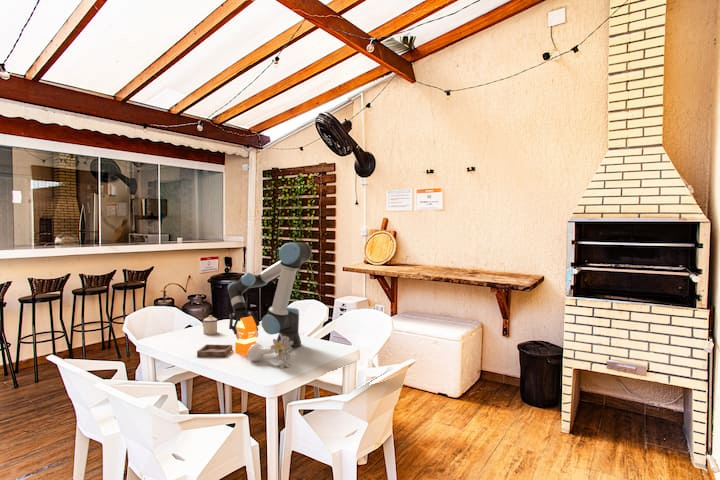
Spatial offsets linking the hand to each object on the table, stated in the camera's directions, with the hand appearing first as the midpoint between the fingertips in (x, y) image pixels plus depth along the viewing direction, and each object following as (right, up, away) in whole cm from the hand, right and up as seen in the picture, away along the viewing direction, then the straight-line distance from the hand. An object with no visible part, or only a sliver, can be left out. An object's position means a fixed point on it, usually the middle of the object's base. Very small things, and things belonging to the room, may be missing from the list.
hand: (248, 337), depth 235 cm
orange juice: (-2, -9, +3) cm, 10 cm away
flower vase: (+16, -10, -17) cm, 26 cm away
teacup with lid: (-39, -7, +45) cm, 60 cm away
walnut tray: (-18, -9, -2) cm, 20 cm away
